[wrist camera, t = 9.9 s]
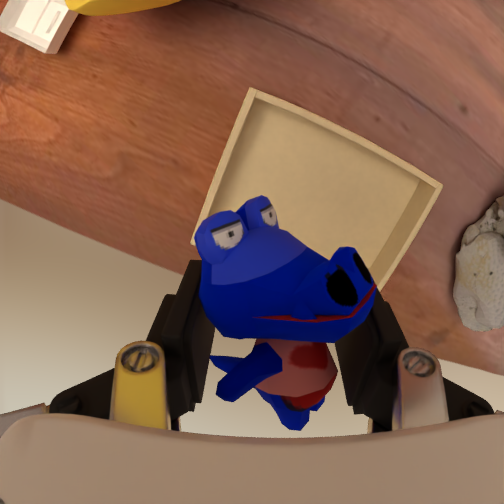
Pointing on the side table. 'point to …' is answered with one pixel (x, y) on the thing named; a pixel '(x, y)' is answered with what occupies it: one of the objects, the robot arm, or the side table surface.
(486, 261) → the coral
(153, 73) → the side table surface
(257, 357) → the figurine
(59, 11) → the white open tray
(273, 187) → the beige open tray
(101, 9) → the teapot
